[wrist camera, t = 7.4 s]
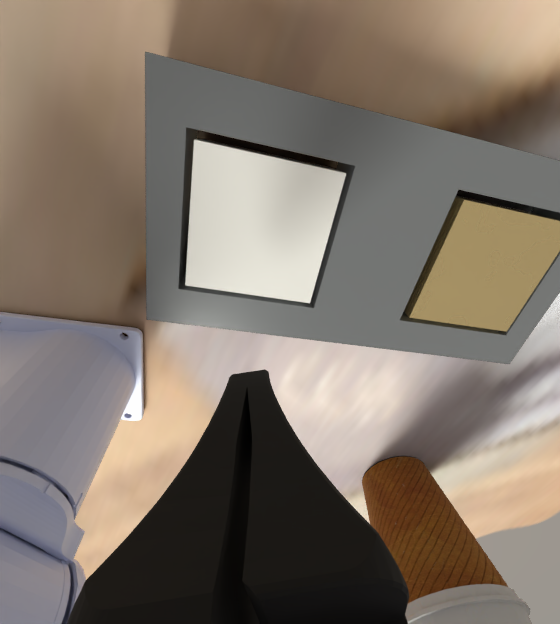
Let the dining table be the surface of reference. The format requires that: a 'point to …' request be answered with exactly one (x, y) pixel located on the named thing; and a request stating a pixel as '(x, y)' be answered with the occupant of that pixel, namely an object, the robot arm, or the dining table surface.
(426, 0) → the dining table surface
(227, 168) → the white button
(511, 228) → the brass button
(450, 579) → the disposable coffee cup
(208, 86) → the panel
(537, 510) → the dining table surface
